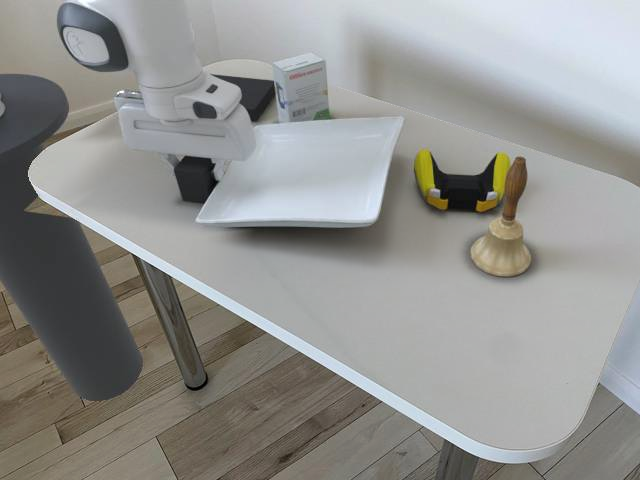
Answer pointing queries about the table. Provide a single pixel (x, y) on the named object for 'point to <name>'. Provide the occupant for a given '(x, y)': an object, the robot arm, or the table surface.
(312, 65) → the ink box
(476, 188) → the gaming controller
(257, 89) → the base pad
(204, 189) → the black block
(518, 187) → the hand bell
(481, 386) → the table surface
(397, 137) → the square plate
